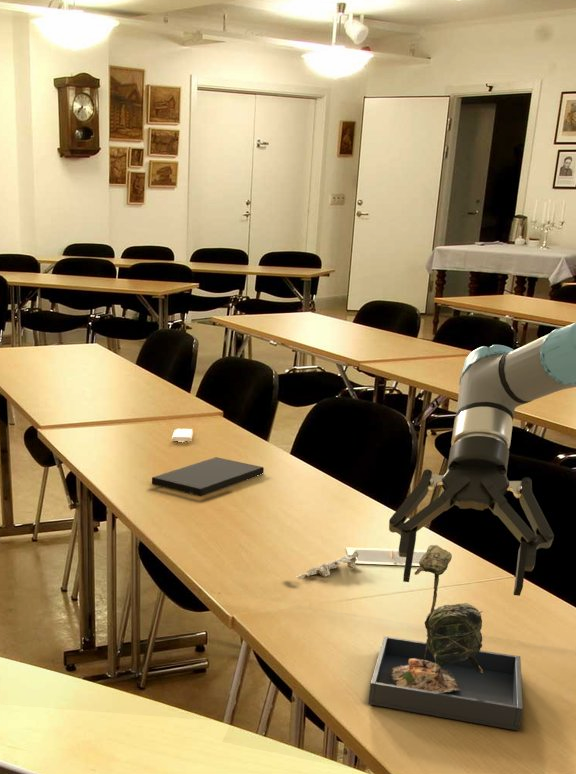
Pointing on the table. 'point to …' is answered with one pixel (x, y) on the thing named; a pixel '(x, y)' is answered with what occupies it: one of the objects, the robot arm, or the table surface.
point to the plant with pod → (442, 636)
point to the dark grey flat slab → (207, 476)
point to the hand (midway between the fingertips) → (460, 584)
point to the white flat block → (182, 435)
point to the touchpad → (384, 556)
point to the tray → (471, 703)
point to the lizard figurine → (332, 565)
